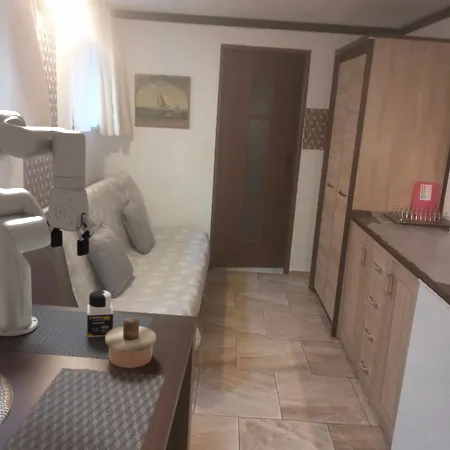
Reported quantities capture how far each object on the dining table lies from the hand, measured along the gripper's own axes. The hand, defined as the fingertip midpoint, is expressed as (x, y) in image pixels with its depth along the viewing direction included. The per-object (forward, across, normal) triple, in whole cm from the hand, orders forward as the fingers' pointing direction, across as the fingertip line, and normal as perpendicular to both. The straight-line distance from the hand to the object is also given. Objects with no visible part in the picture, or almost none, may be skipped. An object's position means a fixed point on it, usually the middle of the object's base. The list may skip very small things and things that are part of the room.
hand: (69, 250), depth 120 cm
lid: (+23, +13, +9) cm, 28 cm away
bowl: (+28, +13, +9) cm, 32 cm away
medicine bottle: (+28, -4, +14) cm, 32 cm away
